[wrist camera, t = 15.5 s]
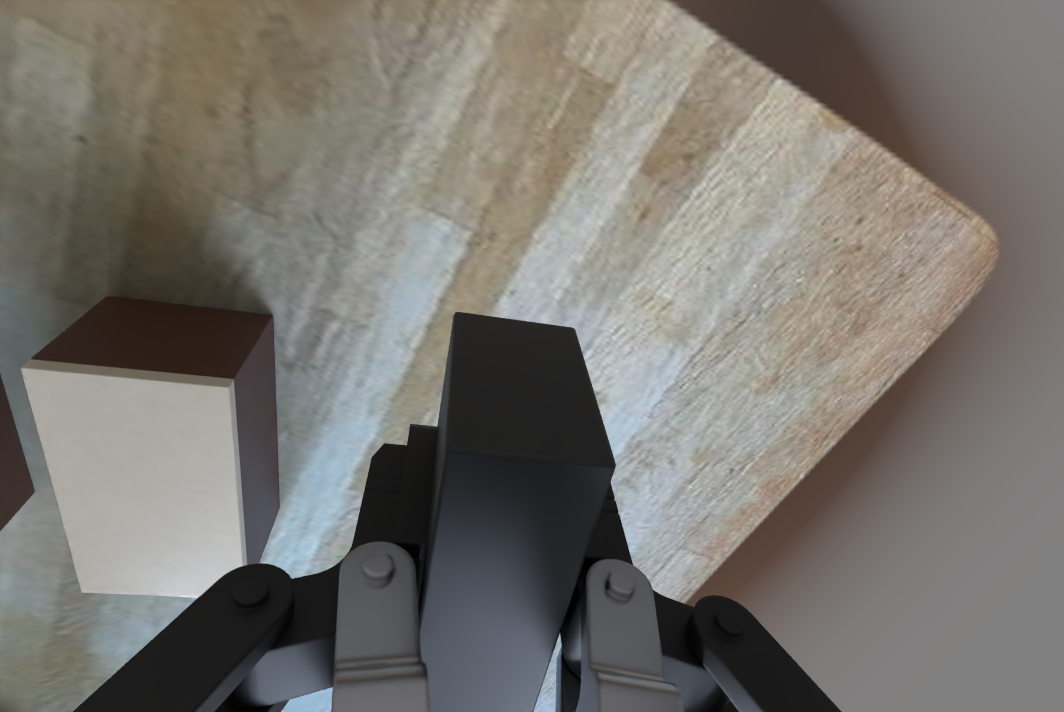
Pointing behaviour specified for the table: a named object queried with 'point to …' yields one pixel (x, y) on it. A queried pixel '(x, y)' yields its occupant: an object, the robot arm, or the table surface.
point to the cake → (160, 443)
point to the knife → (508, 510)
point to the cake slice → (11, 466)
